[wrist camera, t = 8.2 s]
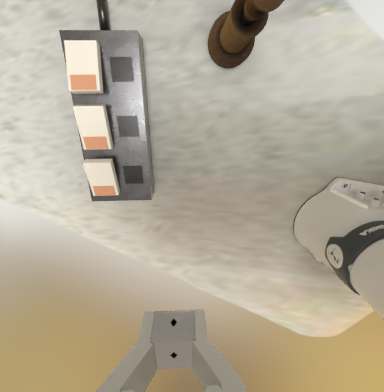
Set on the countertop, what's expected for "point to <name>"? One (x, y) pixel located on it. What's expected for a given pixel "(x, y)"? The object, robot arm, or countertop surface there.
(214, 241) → the countertop surface
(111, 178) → the block
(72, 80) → the rocker
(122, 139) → the power strip
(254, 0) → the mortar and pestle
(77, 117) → the rocker middle
